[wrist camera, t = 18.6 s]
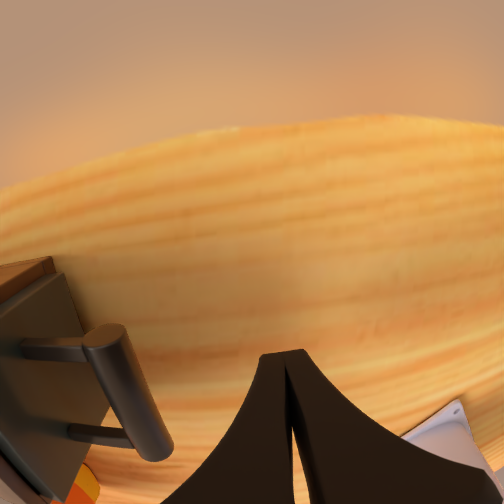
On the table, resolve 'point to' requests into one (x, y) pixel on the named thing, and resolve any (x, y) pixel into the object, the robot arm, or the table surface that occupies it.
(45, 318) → the drawer
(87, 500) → the candy corn
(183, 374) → the table surface
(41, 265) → the cabinet
